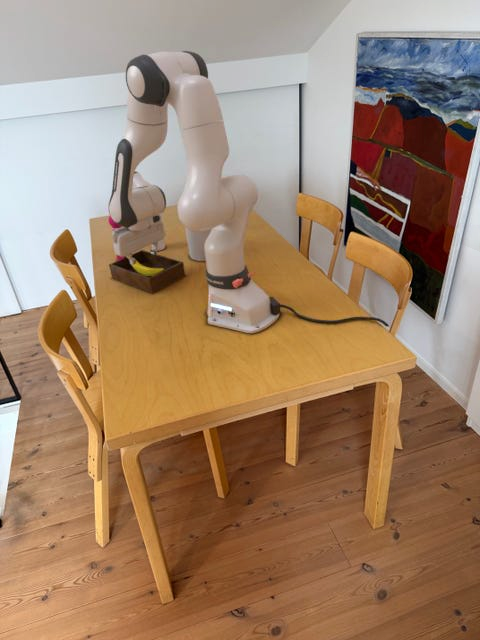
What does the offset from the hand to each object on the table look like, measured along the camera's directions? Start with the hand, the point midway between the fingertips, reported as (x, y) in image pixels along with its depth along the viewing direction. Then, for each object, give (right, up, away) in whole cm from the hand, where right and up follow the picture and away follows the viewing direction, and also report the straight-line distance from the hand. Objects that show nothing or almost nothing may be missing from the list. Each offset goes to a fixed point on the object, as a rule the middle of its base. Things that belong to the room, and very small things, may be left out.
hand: (143, 258), depth 161 cm
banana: (+1, -6, +3) cm, 7 cm away
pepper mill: (-11, +2, +19) cm, 23 cm away
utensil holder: (+21, +4, +17) cm, 28 cm away
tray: (+1, -6, +3) cm, 7 cm away
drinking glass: (+1, +7, +26) cm, 27 cm away
